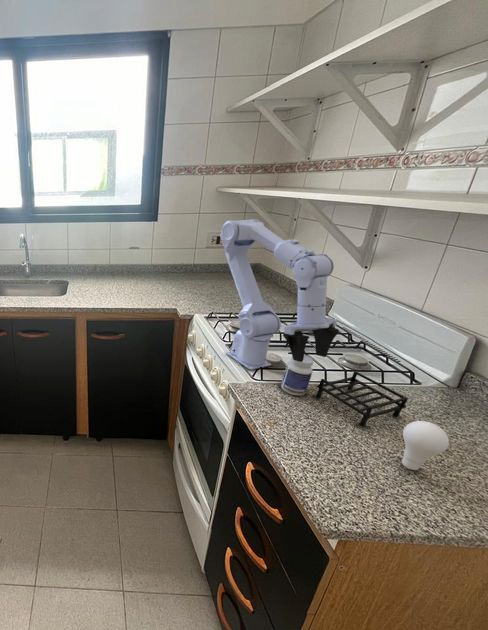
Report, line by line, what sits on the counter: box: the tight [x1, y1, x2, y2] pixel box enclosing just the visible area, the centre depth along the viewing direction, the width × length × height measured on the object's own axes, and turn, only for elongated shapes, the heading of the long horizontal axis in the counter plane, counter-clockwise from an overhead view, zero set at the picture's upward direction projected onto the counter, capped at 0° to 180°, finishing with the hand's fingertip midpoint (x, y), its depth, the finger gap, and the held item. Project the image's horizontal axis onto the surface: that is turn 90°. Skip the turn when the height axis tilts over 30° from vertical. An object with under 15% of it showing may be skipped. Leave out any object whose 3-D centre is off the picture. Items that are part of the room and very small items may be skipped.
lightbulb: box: [401, 420, 450, 471], centre depth 67 cm, size 6×6×11 cm
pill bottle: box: [280, 354, 314, 396], centre depth 91 cm, size 6×6×10 cm
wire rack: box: [315, 370, 409, 428], centre depth 85 cm, size 13×12×6 cm
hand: (309, 358), depth 87 cm, fingers open, 7 cm apart
